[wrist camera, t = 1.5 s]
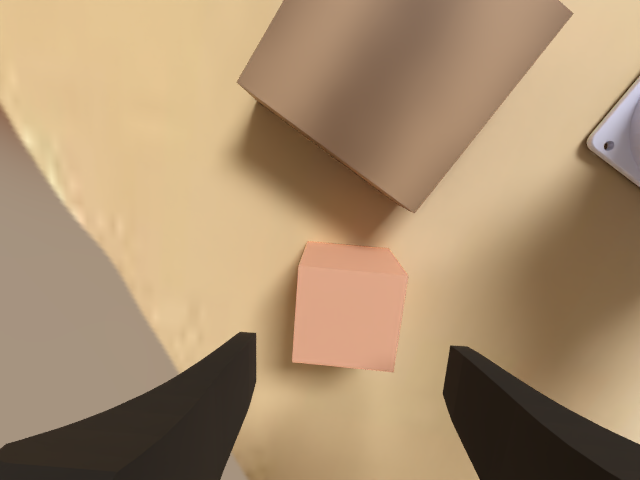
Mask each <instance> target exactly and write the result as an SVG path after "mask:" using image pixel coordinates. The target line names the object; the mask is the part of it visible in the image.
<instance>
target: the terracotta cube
mask: <svg viewBox="0 0 640 480" xmlns="http://www.w3.org/2000/svg"><path fill="white" fill-rule="evenodd" d="M407 282H408V274H407V273H406V272H405V270H404V269H403V267H402V266H401V265H400V263H399V262H398V260H397V259H396V258H395V256H394V255H393V253H392V252H391V251H390V249H389V248H379V247H367V246H356V245H345V244H334V243H322V242H311V241H307V244H306V247H305V249H304V252H303V255H302V258H301V260H300V263H299V266H298V280H297V295H296V309H295V324H294V339H293V354H292V362H296V363H306V364H316V365H326V366H336V367H346V368H356V369H367V370H377V371H387V372H394V365H395V359H396V352H397V346H398V340H399V333H400V327H401V320H402V314H403V308H404V301H405V295H406V288H407Z"/></svg>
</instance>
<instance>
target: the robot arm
mask: <svg viewBox="0 0 640 480" xmlns="http://www.w3.org/2000/svg"><path fill="white" fill-rule="evenodd" d="M606 142H607V144H608V147H607V149H606V150H605V149H604V144H605V143H606ZM587 147H588V148H589V149H590V150H591V151H593V152H594V153H595V154H597V155H598V156H599V157H601V158H602V159H603V160H605V161H606V162H607V163H608V164H610V165H611V166H612V167H614V168H615V169H616V170H618V171H619V172H620V173H622V174H623V175H624V176H626V177H627V178H628V179H629V180H631V181H632V182H633V183H635V184H636V185H637V186H639V187H640V76H639V78H638V79H637V80H636V81H635V82H634V83H633V85H632V86H631V87H630V88H629V89H628V91H627V92H626V93H625V94H624V95H623V97H622V98H621V99H620V100H619V101H618V102H617V104H616V105H615V106H614V107H613V108H612V110H611V111H610V112H609V113H608V114H607V116H606V117H605V118H604V119H603V120H602V121H601V123H600V124H599V125H598V126H597V127H596V129H595V130H594V131H593V132H592V133H591V134H590V136H589V137H588V139H587ZM255 383H256V333H247V332H239V333H238V334H236V335H235V336H234V337H232V338H231V339H230V340H228V341H227V342H226V343H224V344H223V345H222V346H220V347H219V348H218V349H216V350H215V351H213V352H212V353H211V354H209V355H208V356H207V357H205V358H204V359H202V360H201V361H199V362H198V363H196V364H195V365H193V366H192V367H190V368H188V369H187V370H185V371H184V372H182V373H181V374H179V375H178V376H176V377H174V378H173V379H171V380H169V381H168V382H166V383H164V384H162V385H160V386H158V387H156V388H154V389H152V390H151V391H149V392H147V393H145V394H143V395H140V396H138V397H136V398H134V399H132V400H129V401H127V402H125V403H123V404H121V405H118V406H116V407H114V408H112V409H109V410H107V411H104V412H102V413H99V414H97V415H94V416H92V417H89V418H86V419H84V420H81V421H78V422H75V423H72V424H70V425H67V426H64V427H61V428H58V429H55V430H51V431H48V432H45V433H42V434H38V435H35V436H32V437H29V438H25V439H22V440H19V441H15V442H12V443H8V444H6V445H4V446H3V447H2V448H1V449H0V480H220V479H221V476H222V473H223V470H224V468H225V465H226V463H227V460H228V458H229V456H230V453H231V451H232V448H233V446H234V443H235V441H236V438H237V436H238V434H239V431H240V429H241V426H242V424H243V421H244V419H245V416H246V414H247V411H248V409H249V406H250V402H251V398H252V395H253V391H254V387H255ZM443 396H444V399H445V402H446V405H447V409H448V411H449V414H450V417H451V420H452V422H453V425H454V427H455V429H456V431H457V433H458V435H459V437H460V439H461V442H462V444H463V446H464V448H465V450H466V452H467V454H468V456H469V458H470V460H471V462H472V464H473V466H474V468H475V470H476V472H477V474H478V477H479V479H480V480H640V444H638V443H635V442H633V441H631V440H629V439H627V438H624V437H622V436H620V435H618V434H616V433H614V432H612V431H610V430H608V429H605V428H603V427H601V426H599V425H597V424H595V423H593V422H592V421H590V420H588V419H586V418H584V417H582V416H580V415H578V414H576V413H575V412H573V411H571V410H569V409H567V408H565V407H564V406H562V405H560V404H558V403H556V402H555V401H553V400H551V399H550V398H548V397H546V396H545V395H543V394H541V393H540V392H538V391H536V390H535V389H533V388H532V387H530V386H528V385H527V384H525V383H524V382H522V381H520V380H519V379H517V378H516V377H514V376H513V375H511V374H510V373H508V372H507V371H505V370H504V369H502V368H501V367H499V366H498V365H496V364H495V363H493V362H492V361H490V360H489V359H487V358H486V357H484V356H482V355H481V354H479V353H478V352H476V351H474V350H473V349H471V348H469V347H465V346H450V351H449V358H448V364H447V370H446V376H445V383H444V389H443Z"/></svg>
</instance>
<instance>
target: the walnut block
mask: <svg viewBox="0 0 640 480" xmlns="http://www.w3.org/2000/svg"><path fill="white" fill-rule="evenodd" d="M572 15H573V13H572V12H571V11H570V10H569V9H568V8H567V7H566V6H564V5H563V4H562V3H561V2H560V1H559V0H284V1H283V3H282V4H281V6H280V8H279V10H278V11H277V13H276V15H275V17H274V18H273V20H272V22H271V23H270V25H269V27H268V29H267V30H266V32H265V34H264V36H263V37H262V39H261V41H260V42H259V44H258V46H257V48H256V49H255V51H254V53H253V55H252V56H251V58H250V60H249V62H248V63H247V65H246V67H245V68H244V70H243V72H242V74H241V75H240V77H239V79H238V81H237V83H238V84H239V85H240V86H241V87H242V88H244V89H245V90H246V91H247V92H248V93H249V94H250V95H251V96H252V97H253V98H255V99H256V100H257V101H258V102H259V103H261V104H262V105H264V106H265V107H266V108H268V109H269V110H270V111H272V112H273V113H274V114H276V115H277V116H278V117H280V118H281V119H283V120H284V121H285V122H287V123H288V124H289V125H291V126H292V127H293V128H295V129H296V130H297V131H299V132H300V133H302V134H303V135H304V136H306V137H307V138H308V139H310V140H311V141H312V142H314V143H315V144H316V145H318V146H319V147H321V148H322V149H323V150H325V151H326V152H327V153H329V154H330V155H331V156H333V157H334V158H336V159H337V160H338V161H340V162H341V163H342V164H344V165H345V166H346V167H348V168H349V169H350V170H352V171H353V172H355V173H356V174H357V175H359V176H360V177H361V178H363V179H364V180H365V181H367V182H368V183H369V184H371V185H372V186H374V187H375V188H376V189H378V190H379V191H380V192H382V193H383V194H384V195H386V196H387V197H388V198H390V199H391V200H393V201H394V202H395V203H397V204H398V205H400V206H402V207H403V208H405V209H407V210H409V211H411V212H413V213H415V212H416V211H417V210H418V208H419V207H420V206H421V205H422V203H423V202H424V201H425V199H426V198H427V197H428V196H429V194H430V193H431V192H432V191H433V189H434V188H435V187H436V186H437V184H438V183H439V182H440V181H441V179H442V178H443V177H444V176H445V174H446V173H447V172H448V171H449V169H450V168H451V167H452V166H453V164H454V163H455V162H456V161H457V159H458V158H459V157H460V155H461V154H462V153H463V152H464V150H465V149H466V148H467V147H468V145H469V144H470V143H471V142H472V140H473V139H474V138H475V137H476V135H477V134H478V133H479V132H480V130H481V129H482V128H483V127H484V125H485V124H486V123H487V122H488V120H489V119H490V118H491V117H492V115H493V114H494V113H495V112H496V110H497V109H498V108H499V106H500V105H501V104H502V103H503V101H504V100H505V99H506V98H507V96H508V95H509V94H510V93H511V91H512V90H513V89H514V88H515V86H516V85H517V84H518V83H519V81H520V80H521V79H522V78H523V76H524V75H525V74H526V73H527V71H528V70H529V69H530V68H531V66H532V65H533V64H534V62H535V61H536V60H537V59H538V57H539V56H540V55H541V54H542V52H543V51H544V50H545V49H546V47H547V46H548V45H549V44H550V42H551V41H552V40H553V39H554V37H555V36H556V35H557V34H558V32H559V31H560V30H561V29H562V27H563V26H564V25H565V24H566V22H567V21H568V20H569V18H570V17H571V16H572Z"/></svg>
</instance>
